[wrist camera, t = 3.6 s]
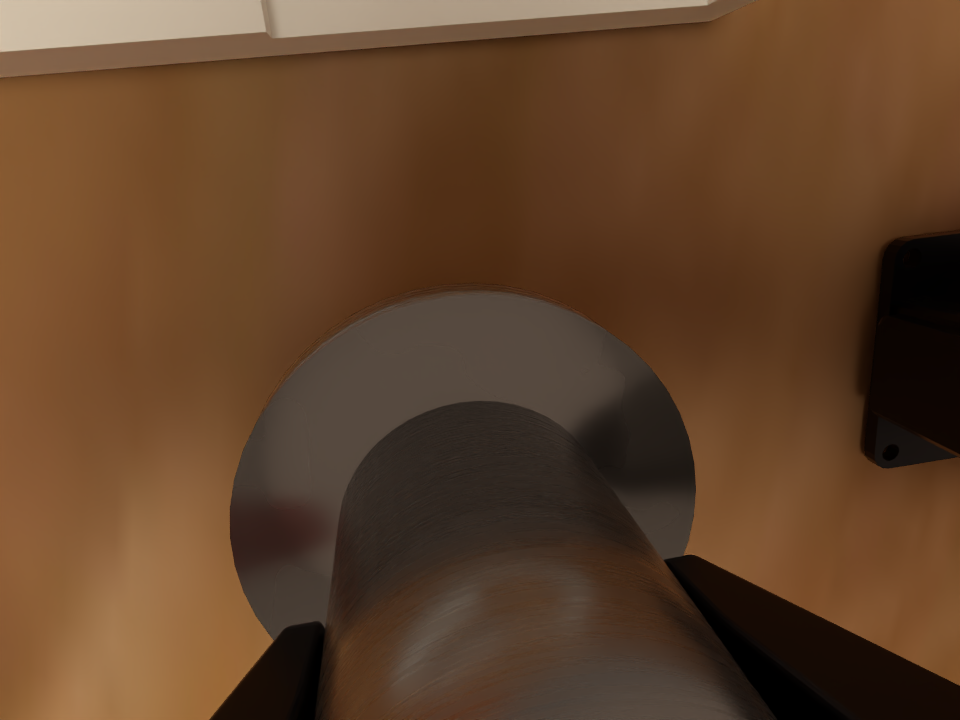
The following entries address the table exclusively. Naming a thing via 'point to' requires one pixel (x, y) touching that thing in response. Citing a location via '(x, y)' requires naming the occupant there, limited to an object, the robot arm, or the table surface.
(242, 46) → the keyhole dock
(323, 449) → the dark grey rounded piece
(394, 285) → the table surface
